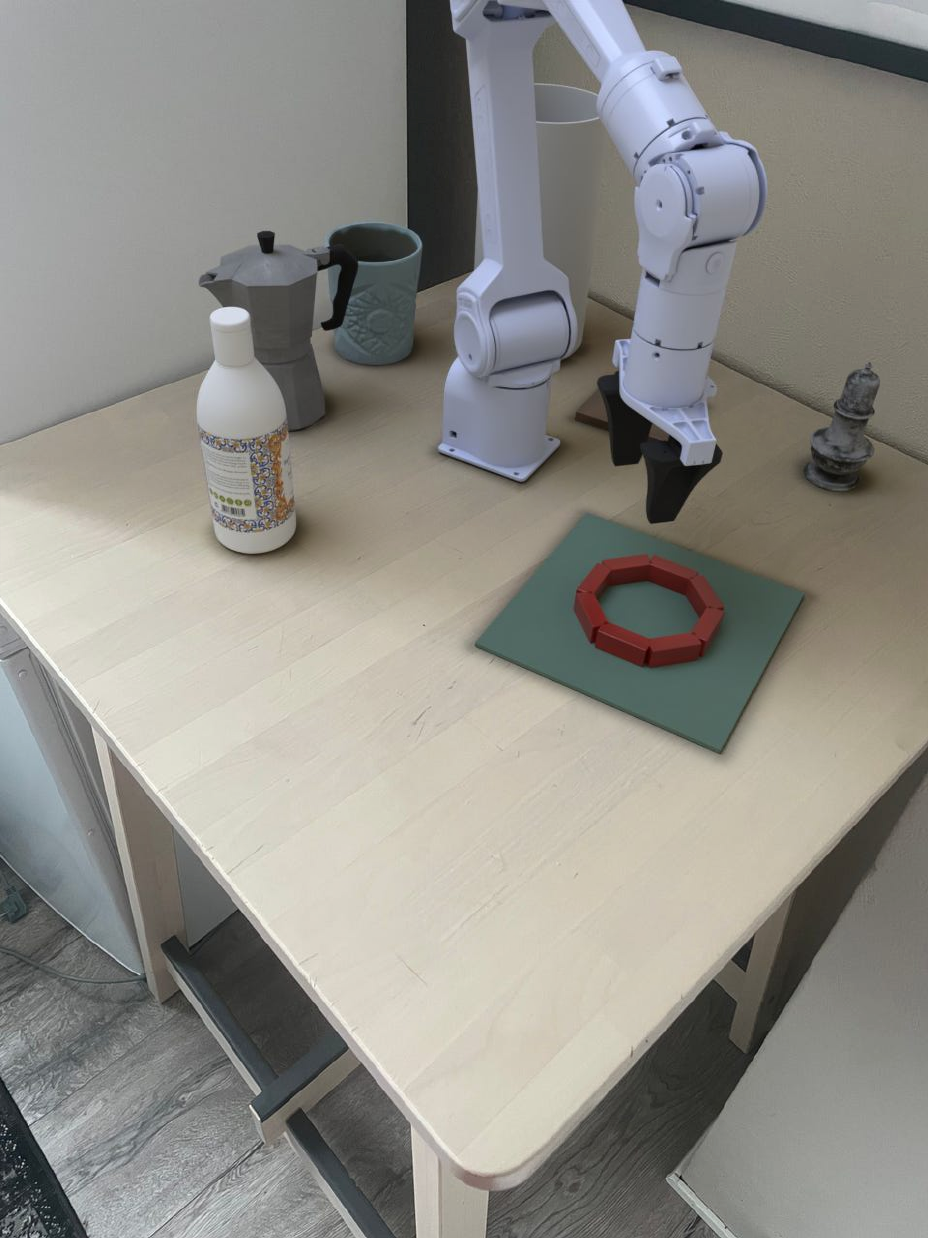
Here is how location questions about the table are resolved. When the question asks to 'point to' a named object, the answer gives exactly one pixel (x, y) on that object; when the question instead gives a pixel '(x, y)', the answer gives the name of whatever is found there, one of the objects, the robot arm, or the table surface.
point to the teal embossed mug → (377, 291)
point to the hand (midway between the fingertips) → (642, 490)
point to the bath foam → (244, 442)
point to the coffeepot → (284, 312)
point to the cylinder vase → (567, 185)
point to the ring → (637, 645)
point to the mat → (645, 633)
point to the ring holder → (597, 416)
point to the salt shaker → (845, 435)
